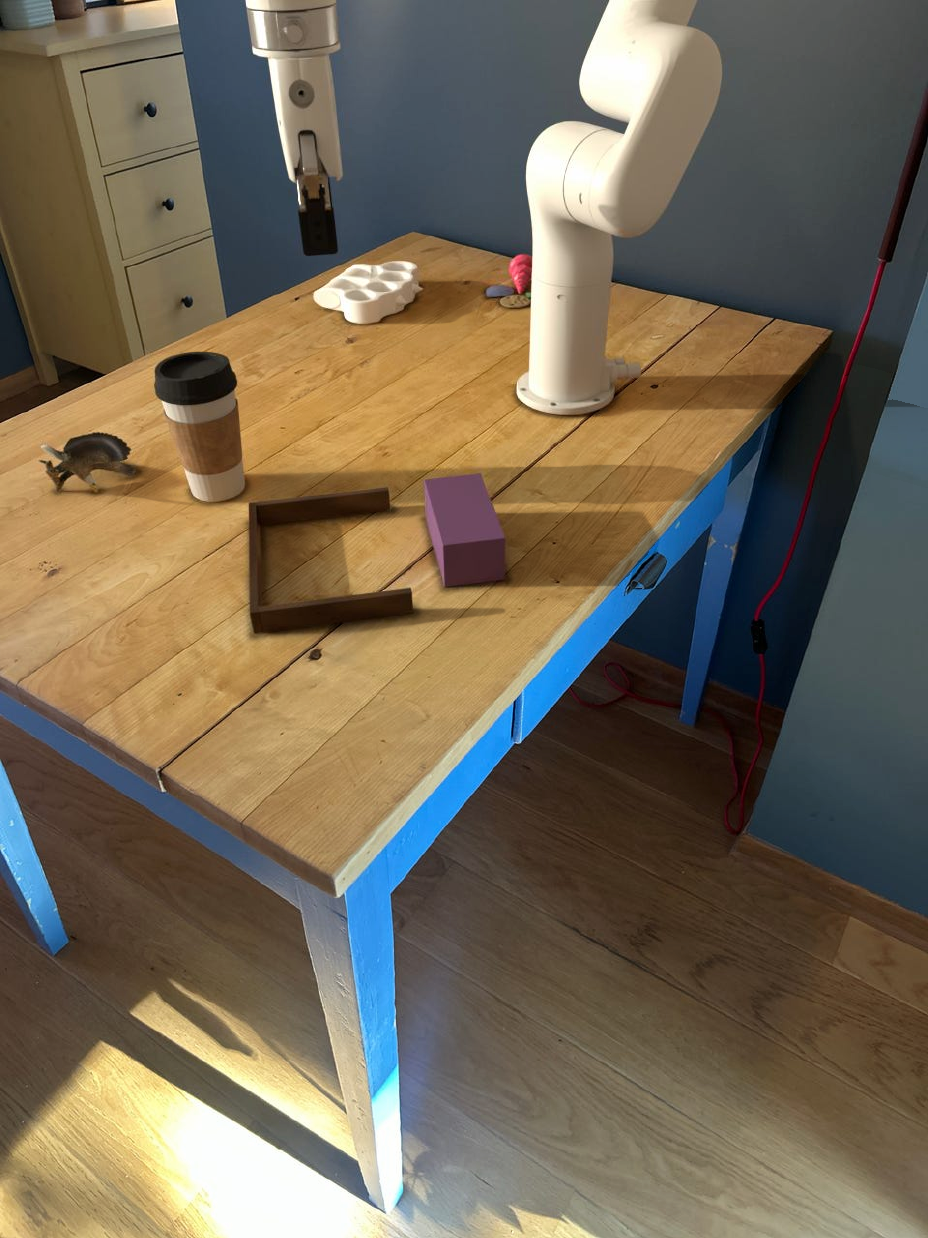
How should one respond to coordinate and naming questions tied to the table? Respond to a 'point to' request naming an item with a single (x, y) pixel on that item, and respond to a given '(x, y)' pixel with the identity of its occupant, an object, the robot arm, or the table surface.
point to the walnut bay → (327, 607)
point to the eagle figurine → (88, 458)
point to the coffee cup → (203, 421)
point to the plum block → (464, 530)
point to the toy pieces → (521, 277)
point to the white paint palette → (371, 291)
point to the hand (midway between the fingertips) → (319, 236)
